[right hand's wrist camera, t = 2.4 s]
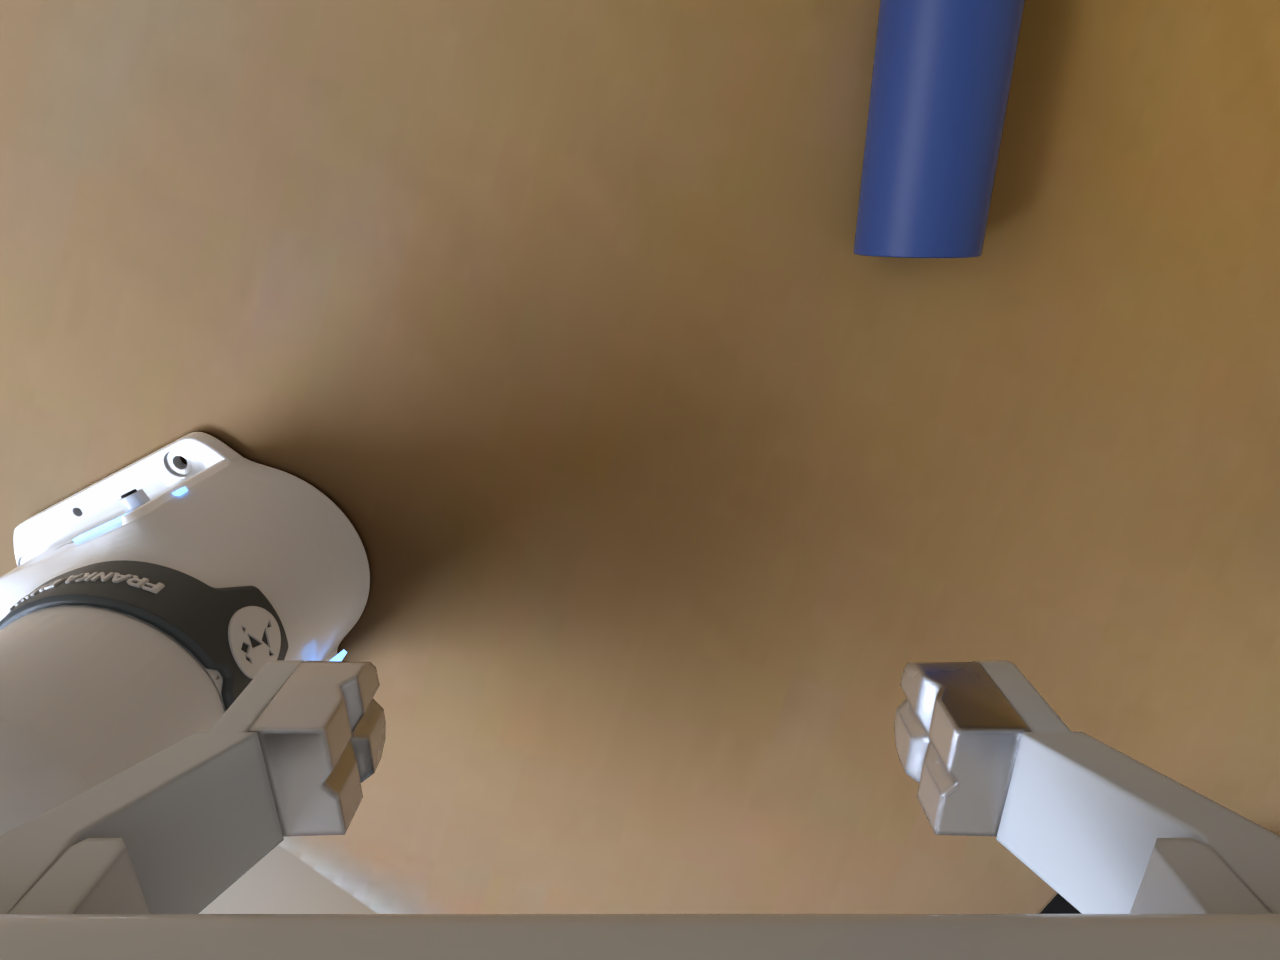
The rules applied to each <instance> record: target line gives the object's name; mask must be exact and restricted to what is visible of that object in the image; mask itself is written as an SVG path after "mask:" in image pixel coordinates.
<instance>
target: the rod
mask: <svg viewBox="0 0 1280 960" xmlns="http://www.w3.org/2000/svg"><path fill="white" fill-rule="evenodd" d="M1024 2H1025V0H880V10H879V19H878V29H877V38H876V47H875V57H874V66H873V75H872V85H871V94H870V104H869V113H868V122H867V132H866V141H865V151H864V160H863V169H862V179H861V188H860V197H859V207H858V216H857V226H856V235H855V244H854V254H857V255H865V256H879V257H904V258H967V257H978V256H981V254H982V248H983V243H984V237H985V231H986V225H987V219H988V213H989V207H990V201H991V196H992V190H993V184H994V178H995V172H996V166H997V160H998V155H999V149H1000V143H1001V137H1002V131H1003V125H1004V119H1005V113H1006V108H1007V102H1008V96H1009V90H1010V84H1011V78H1012V72H1013V66H1014V61H1015V55H1016V49H1017V43H1018V37H1019V31H1020V25H1021V20H1022V14H1023V8H1024Z"/></svg>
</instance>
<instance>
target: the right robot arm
mask: <svg viewBox="0 0 1280 960" xmlns="http://www.w3.org/2000/svg"><path fill="white" fill-rule="evenodd" d="M180 456H182V457H183V458H185V459H186V461H187V465H186V464H184V463H183V462H182V461H181V459H180ZM14 553H15V558H16V563H17V566H18V567H16V568H15V569H13V570H11V571H9V572H8V573H6V574H4V575H3V576H1V577H0V960H1280V836H1278V835H1276V834H1275V833H1273V832H1271V831H1269V830H1267V829H1265V828H1263V827H1261V826H1259V825H1258V824H1256V823H1254V822H1252V821H1250V820H1248V819H1246V818H1244V817H1242V816H1240V815H1239V814H1237V813H1235V812H1233V811H1231V810H1229V809H1227V808H1225V807H1223V806H1222V805H1220V804H1218V803H1216V802H1214V801H1212V800H1210V799H1208V798H1206V797H1204V796H1203V795H1201V794H1199V793H1197V792H1195V791H1193V790H1191V789H1189V788H1187V787H1186V786H1184V785H1182V784H1180V783H1178V782H1176V781H1174V780H1172V779H1170V778H1168V777H1167V776H1165V775H1163V774H1161V773H1159V772H1157V771H1155V770H1153V769H1151V768H1150V767H1148V766H1146V765H1144V764H1142V763H1140V762H1138V761H1136V760H1134V759H1132V758H1131V757H1129V756H1127V755H1125V754H1123V753H1121V752H1119V751H1117V750H1115V749H1114V748H1112V747H1110V746H1108V745H1106V744H1104V743H1102V742H1100V741H1098V740H1096V739H1095V738H1093V737H1091V736H1089V735H1087V734H1085V733H1083V732H1071V731H1070V729H1069V728H1068V727H1067V726H1066V725H1065V724H1064V722H1063V721H1062V720H1061V719H1060V718H1059V716H1058V715H1057V714H1056V713H1055V712H1054V711H1053V709H1052V708H1051V707H1050V706H1049V705H1048V703H1047V702H1046V701H1045V700H1044V699H1043V698H1042V696H1041V695H1040V694H1039V693H1038V692H1037V690H1036V689H1035V688H1034V687H1033V686H1032V685H1031V683H1030V682H1029V681H1028V680H1027V679H1026V677H1025V676H1024V675H1023V674H1022V673H1021V672H1020V670H1019V669H1018V668H1017V667H1016V666H1015V665H1014V664H1013V663H1011V662H1009V661H1007V660H992V661H973V662H924V663H907V664H906V666H905V668H904V670H903V673H902V679H901V687H902V689H903V691H904V693H905V694H906V696H907V699H906V700H905V701H904V702H903V703H902V704H901V705H900V706H899V707H898V708H897V709H896V717H895V725H894V731H895V743H896V749H897V752H898V756H899V759H900V762H901V764H902V766H903V768H904V770H905V773H906V774H908V775H909V776H910V777H912V778H913V779H915V780H916V781H917V782H919V789H918V795H917V798H918V800H919V802H920V804H921V806H922V808H923V810H924V812H925V814H926V816H927V818H928V820H929V822H930V824H931V827H932V829H933V831H934V833H935V835H967V836H997V838H996V840H998V841H999V842H1000V843H1001V844H1002V845H1003V846H1005V847H1006V848H1007V849H1008V850H1009V851H1010V852H1011V853H1013V854H1014V855H1015V856H1016V857H1017V858H1018V859H1020V860H1021V861H1022V862H1023V863H1024V864H1025V865H1026V866H1028V867H1029V868H1030V869H1031V870H1032V871H1033V872H1034V873H1036V874H1037V875H1038V876H1039V877H1040V878H1041V879H1043V880H1044V881H1045V882H1046V883H1047V884H1048V885H1049V886H1051V887H1052V888H1053V889H1054V890H1055V891H1056V892H1058V893H1059V894H1060V895H1061V896H1062V897H1063V898H1064V899H1066V900H1067V901H1068V902H1069V903H1070V904H1071V905H1073V906H1074V907H1075V908H1076V909H1077V910H1078V911H1079V912H1081V913H1082V914H198V913H200V912H201V911H202V910H203V909H204V908H205V907H206V906H208V905H209V904H210V903H211V902H212V901H213V900H215V899H216V898H217V897H218V896H219V895H220V894H221V893H223V892H224V891H225V890H226V889H227V888H228V887H230V886H231V885H232V884H233V883H234V882H235V881H237V880H238V879H239V878H240V877H241V876H242V875H243V874H245V873H246V872H247V871H248V870H249V869H250V868H251V867H253V866H254V865H255V864H256V863H257V862H258V861H260V860H261V859H262V858H263V857H264V856H265V855H267V854H268V853H269V852H270V851H271V850H272V849H274V848H275V847H276V846H277V845H278V844H279V843H280V842H282V841H283V839H284V838H283V836H312V835H345V833H346V831H347V829H348V827H349V825H350V823H351V820H352V818H353V816H354V814H355V812H356V810H357V808H358V806H359V804H360V802H361V800H362V798H363V794H362V789H361V782H363V781H364V780H365V779H367V778H368V777H370V776H371V775H372V774H374V773H375V770H376V768H377V766H378V764H379V761H380V759H381V756H382V752H383V747H384V742H385V727H386V722H385V715H384V709H383V708H382V707H381V706H380V705H379V704H378V703H377V702H376V701H375V700H374V699H373V696H374V694H375V693H376V691H377V689H378V687H379V680H378V675H377V670H376V667H375V666H374V665H373V664H372V663H371V662H349V661H342V660H343V658H344V657H345V655H346V654H347V652H346V651H345V650H344V649H343V650H342V651H341V652H340V653H338V654H337V650H338V646H339V644H340V643H341V641H342V640H343V638H344V637H345V636H346V635H347V634H348V633H349V631H350V630H351V629H352V628H353V627H354V626H355V624H356V623H357V621H358V620H359V618H360V617H361V615H362V613H363V611H364V608H365V606H366V603H367V599H368V595H369V590H370V570H369V563H368V559H367V555H366V552H365V549H364V546H363V544H362V541H361V539H360V537H359V535H358V533H357V532H356V530H355V528H354V527H353V525H352V524H351V522H350V521H349V519H348V518H347V517H346V516H345V514H344V513H343V512H342V511H341V510H340V509H339V507H338V506H337V505H336V504H335V503H333V502H332V501H331V500H330V499H329V498H328V497H327V496H326V495H324V494H323V493H322V492H320V491H319V490H318V489H316V488H315V487H313V486H312V485H310V484H309V483H307V482H305V481H304V480H302V479H300V478H298V477H296V476H294V475H291V474H289V473H287V472H284V471H282V470H279V469H276V468H272V467H269V466H266V465H262V464H259V463H256V462H253V461H250V460H248V459H246V458H244V457H242V456H241V455H240V454H238V453H237V452H236V451H234V450H233V449H231V448H230V447H229V446H227V445H226V444H224V443H223V442H221V441H220V440H218V439H217V438H215V437H213V436H211V435H209V434H207V433H203V432H192V433H189V434H187V435H185V436H183V437H181V438H179V439H177V440H175V441H174V442H172V443H170V444H168V445H166V446H164V447H162V448H160V449H158V450H157V451H155V452H153V453H151V454H149V455H147V456H145V457H143V458H141V459H139V460H138V461H136V462H134V463H132V464H130V465H128V466H126V467H124V468H122V469H121V470H119V471H117V472H115V473H113V474H111V475H109V476H107V477H105V478H104V479H102V480H100V481H98V482H96V483H94V484H92V485H90V486H88V487H86V488H85V489H83V490H81V491H79V492H77V493H75V494H73V495H71V496H69V497H68V498H66V499H64V500H62V501H60V502H58V503H56V504H54V505H52V506H50V507H49V508H47V509H45V510H43V511H41V512H39V513H37V514H36V515H34V516H32V517H30V518H29V519H27V520H26V521H24V522H23V523H21V524H20V525H18V526H17V527H16V528H15V530H14Z"/></svg>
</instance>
